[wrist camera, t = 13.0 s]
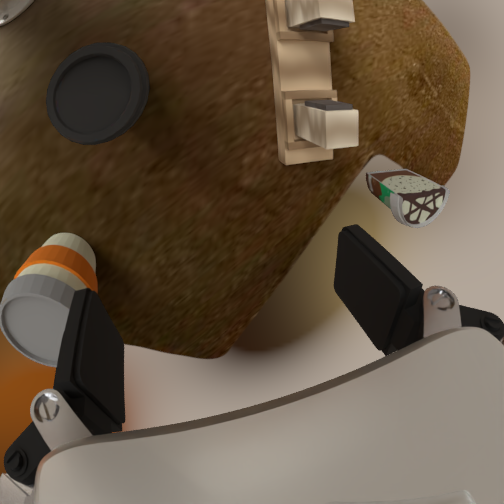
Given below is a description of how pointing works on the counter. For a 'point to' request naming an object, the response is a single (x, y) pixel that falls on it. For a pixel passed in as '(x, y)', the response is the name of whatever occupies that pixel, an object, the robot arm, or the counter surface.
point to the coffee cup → (97, 93)
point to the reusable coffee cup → (46, 296)
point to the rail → (302, 65)
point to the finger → (327, 123)
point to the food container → (408, 195)
